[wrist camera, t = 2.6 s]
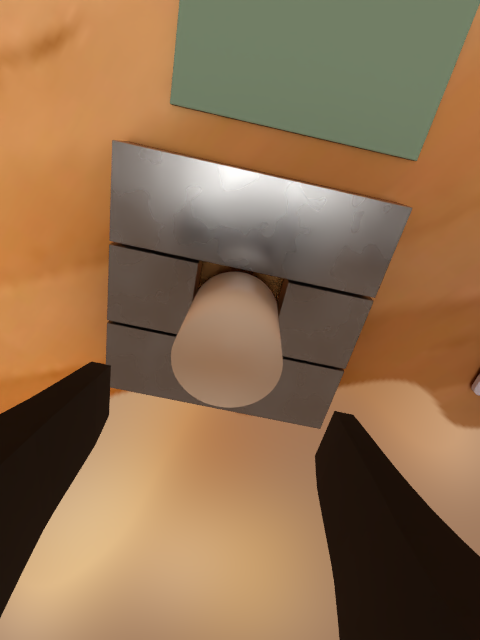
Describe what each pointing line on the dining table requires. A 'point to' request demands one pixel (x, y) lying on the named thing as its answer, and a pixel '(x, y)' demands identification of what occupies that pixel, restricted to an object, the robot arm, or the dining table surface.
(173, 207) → the bore plate
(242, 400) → the end cover
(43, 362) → the dining table surface
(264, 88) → the mat
